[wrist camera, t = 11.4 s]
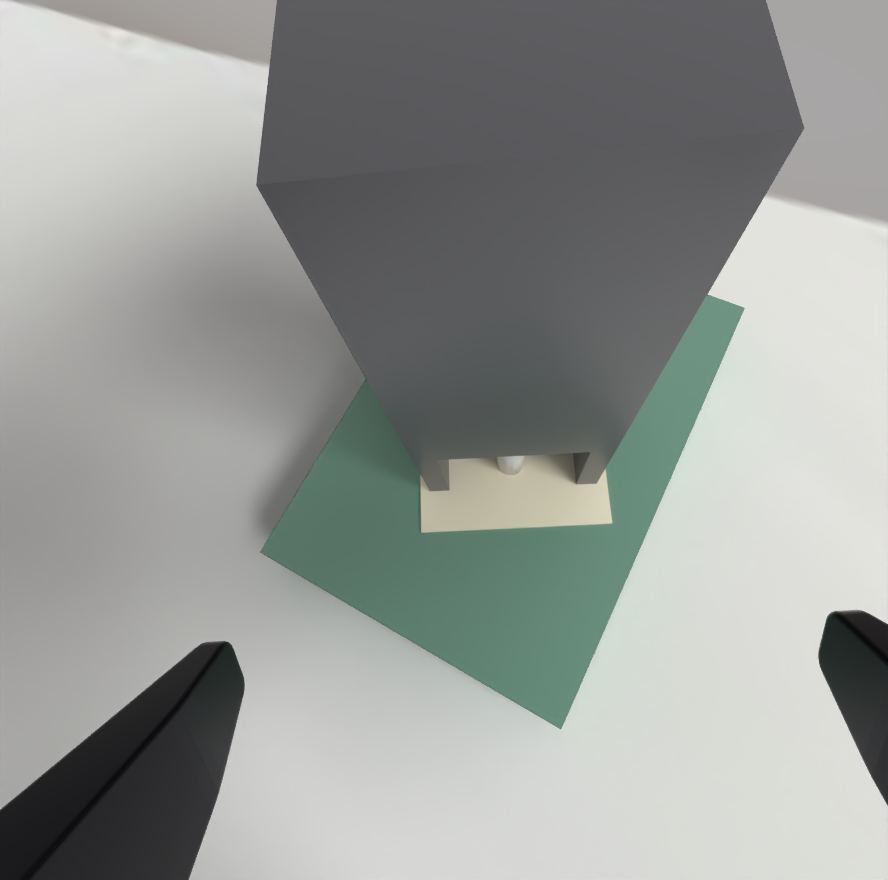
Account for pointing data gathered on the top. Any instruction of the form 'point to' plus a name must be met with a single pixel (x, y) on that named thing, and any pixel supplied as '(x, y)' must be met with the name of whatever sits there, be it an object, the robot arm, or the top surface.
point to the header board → (496, 533)
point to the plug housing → (519, 200)
